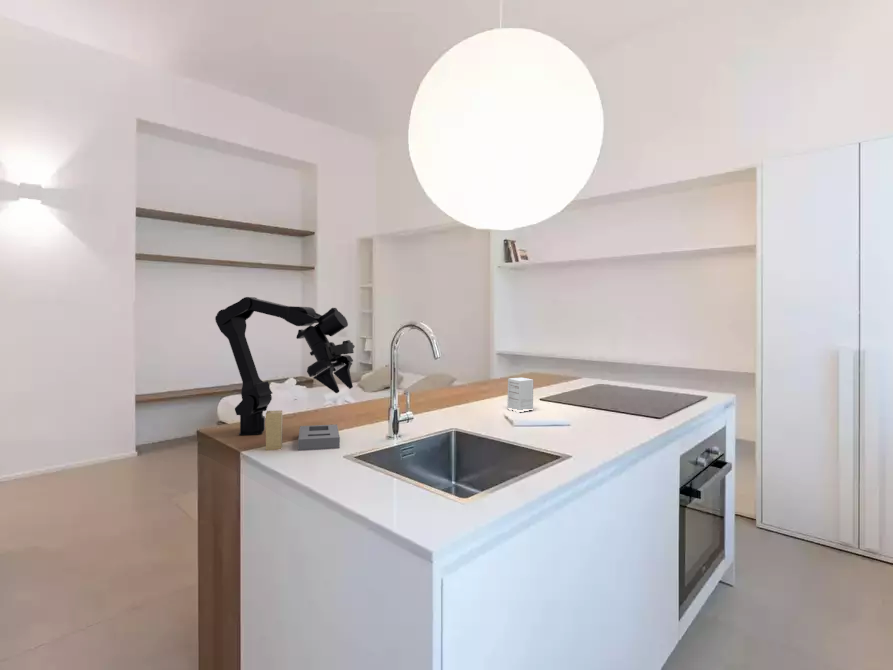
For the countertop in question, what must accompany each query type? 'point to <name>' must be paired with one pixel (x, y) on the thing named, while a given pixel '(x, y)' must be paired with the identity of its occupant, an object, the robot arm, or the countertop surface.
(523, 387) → the supplement box
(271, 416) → the brass peg
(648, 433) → the countertop surface
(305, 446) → the socket block
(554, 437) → the countertop surface
